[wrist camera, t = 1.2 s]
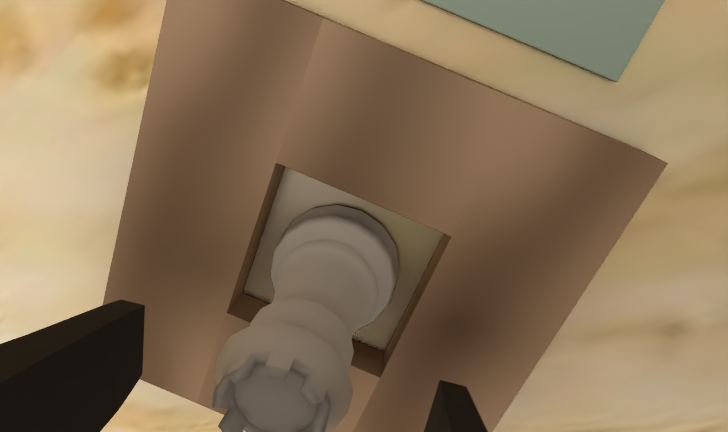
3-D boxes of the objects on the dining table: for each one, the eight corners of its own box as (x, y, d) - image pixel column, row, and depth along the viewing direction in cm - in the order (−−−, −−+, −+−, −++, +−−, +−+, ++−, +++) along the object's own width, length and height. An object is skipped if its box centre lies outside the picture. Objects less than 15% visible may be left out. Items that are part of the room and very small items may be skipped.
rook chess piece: (306, 179, 17) (201, 286, 9) (421, 233, 17) (410, 382, 9) (265, 281, 18) (147, 442, 11) (371, 330, 18) (326, 523, 11)
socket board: (645, 152, 15) (667, 163, 13) (442, 475, 20) (442, 507, 19) (200, -36, 15) (176, -44, 13) (115, 337, 20) (91, 358, 19)
